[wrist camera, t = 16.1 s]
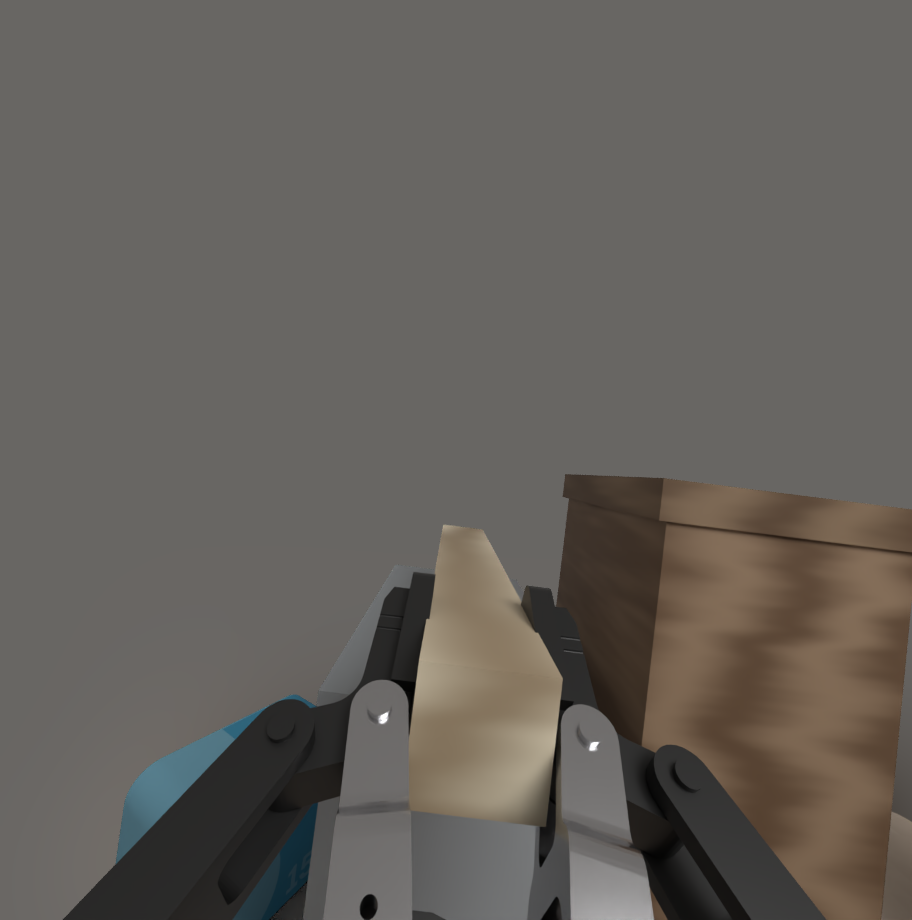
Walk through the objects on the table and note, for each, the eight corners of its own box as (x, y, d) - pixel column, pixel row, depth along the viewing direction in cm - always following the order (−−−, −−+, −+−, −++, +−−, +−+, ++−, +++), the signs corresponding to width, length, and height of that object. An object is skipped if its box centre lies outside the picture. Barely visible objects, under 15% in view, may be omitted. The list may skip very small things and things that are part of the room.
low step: (486, 826, 35) (516, 579, 36) (531, 1317, 15) (599, 725, 15) (363, 811, 35) (395, 564, 36) (239, 1282, 15) (318, 690, 15)
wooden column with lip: (670, 859, 34) (710, 492, 35) (869, 1217, 18) (936, 512, 19) (521, 841, 34) (565, 474, 35) (584, 1183, 18) (663, 478, 19)
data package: (130, 1061, 20) (165, 817, 20) (95, 991, 22) (126, 772, 22) (321, 868, 30) (342, 709, 30) (283, 834, 32) (303, 686, 33)
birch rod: (477, 568, 30) (482, 529, 30) (545, 826, 8) (563, 678, 8) (438, 564, 30) (443, 524, 30) (400, 808, 8) (418, 660, 8)
